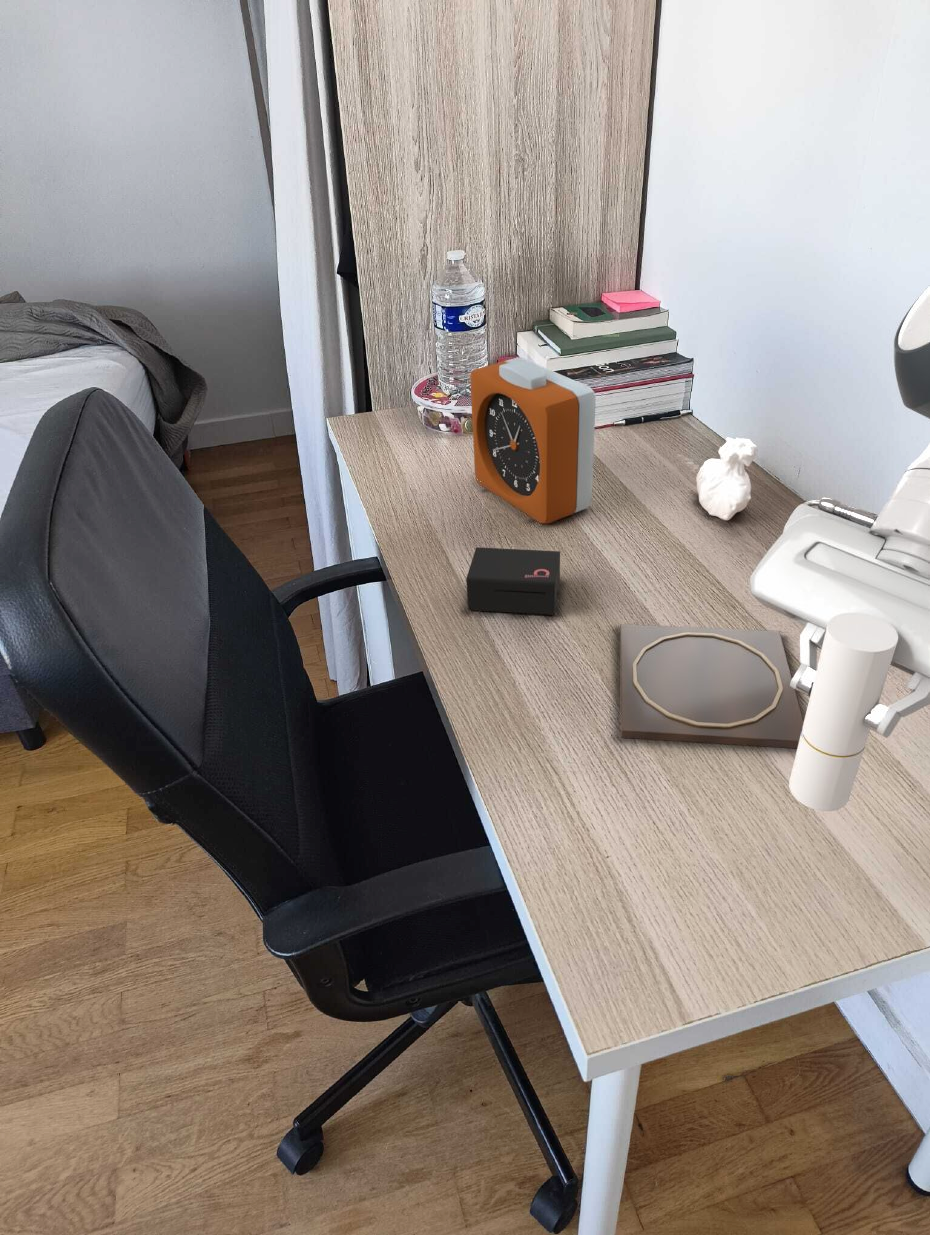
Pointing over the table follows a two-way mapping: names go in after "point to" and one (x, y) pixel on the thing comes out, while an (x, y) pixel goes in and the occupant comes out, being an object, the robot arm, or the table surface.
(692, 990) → the table surface
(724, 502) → the white tied bag
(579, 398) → the alarm clock
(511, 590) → the electronic device
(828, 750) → the tube
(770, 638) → the board
